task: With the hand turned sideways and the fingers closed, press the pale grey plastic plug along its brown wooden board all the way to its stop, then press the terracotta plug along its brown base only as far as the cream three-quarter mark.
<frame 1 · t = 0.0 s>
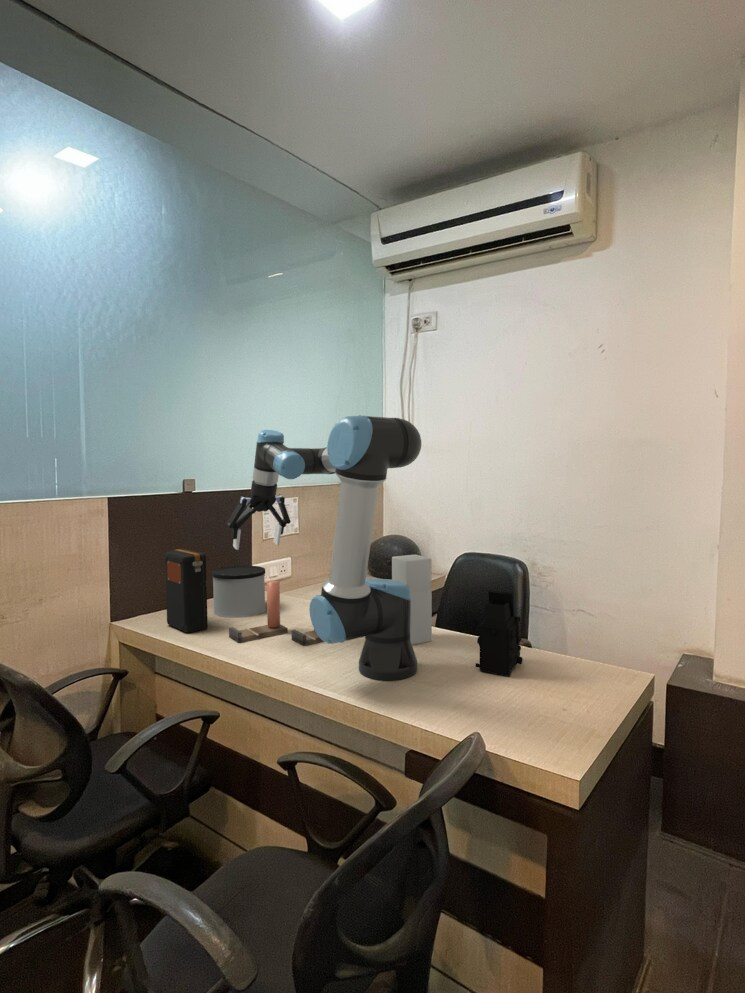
hand: (256, 545, 172), 28 cm above the table, tool tilted 20°, fingers open, 13 cm apart
camera: (501, 667, 144), on the table
brown wooden board: (335, 634, 172), on the table
container: (239, 611, 201), on the table
tall white carton: (411, 640, 166), on the table
voltmeter: (187, 627, 181), on the table
terracotta plug: (273, 603, 175), point 9 cm above the table, slide at 0.0 cm
brown base: (274, 631, 175), on the table
grey plug: (335, 605, 171), point 9 cm above the table, slide at 0.0 cm
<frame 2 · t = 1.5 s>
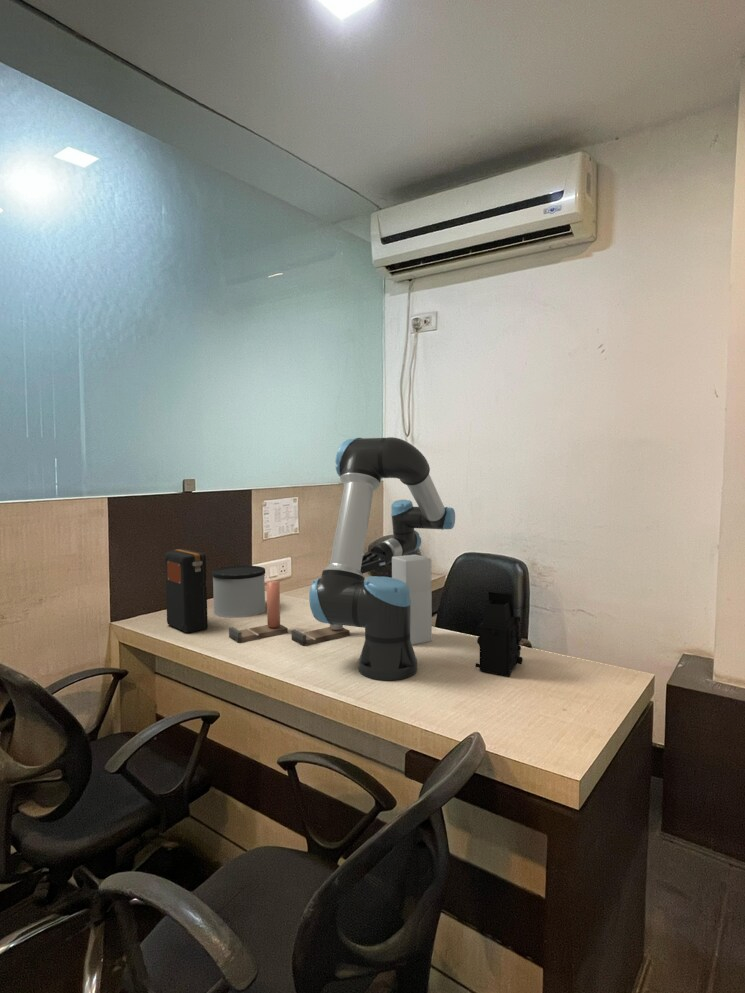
hand: (335, 576, 173), 18 cm above the table, tool horizontal, fingers closed
grey plug: (336, 605, 172), point 9 cm above the table, slide at -0.4 cm
everything else where it was.
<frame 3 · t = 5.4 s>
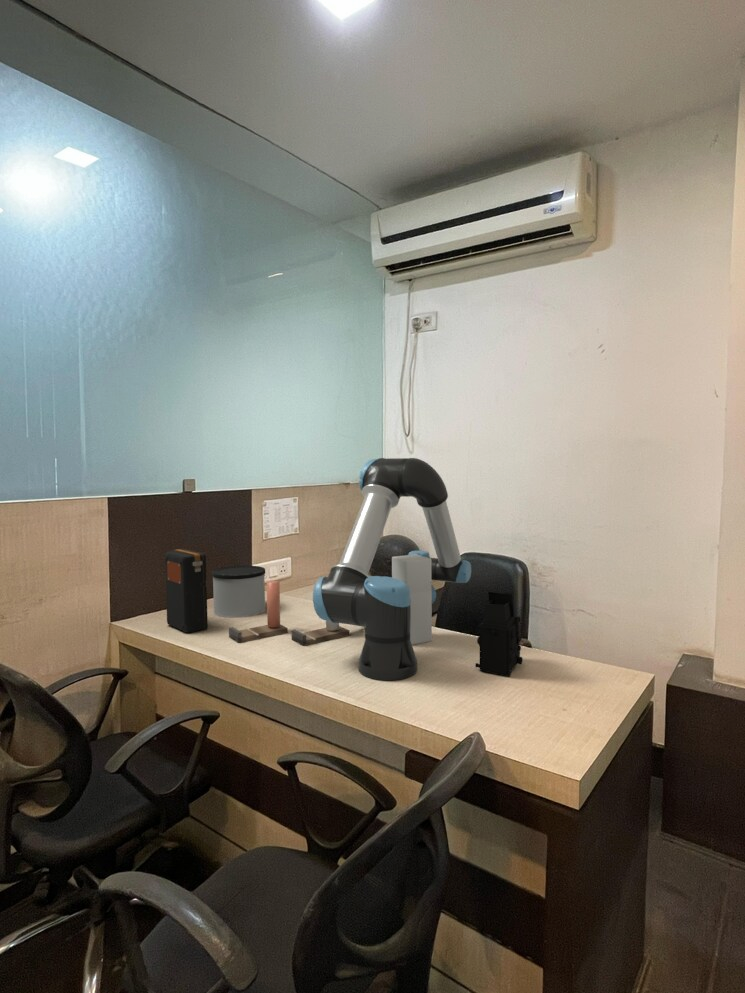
hand: (337, 611, 173), 7 cm above the table, tool horizontal, fingers closed
grey plug: (332, 606, 171), point 9 cm above the table, slide at 1.1 cm, touching gripper
everything else where it was.
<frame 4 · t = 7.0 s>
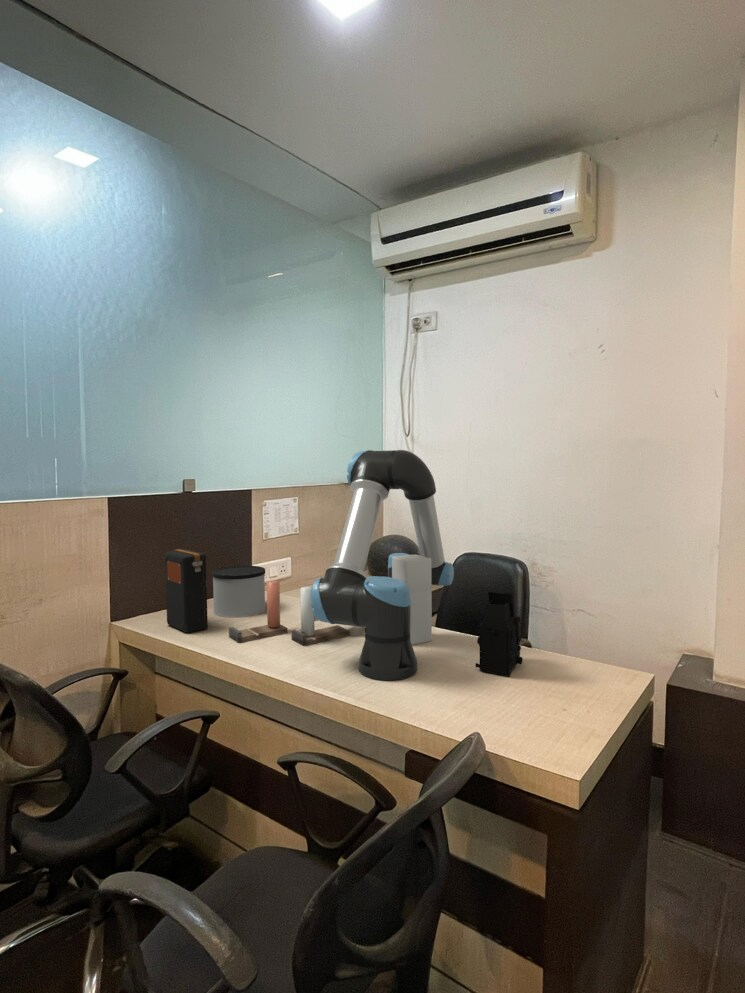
hand: (313, 616, 167), 7 cm above the table, tool horizontal, fingers closed
grey plug: (307, 611, 166), point 9 cm above the table, slide at 9.8 cm, touching gripper
everything else where it was.
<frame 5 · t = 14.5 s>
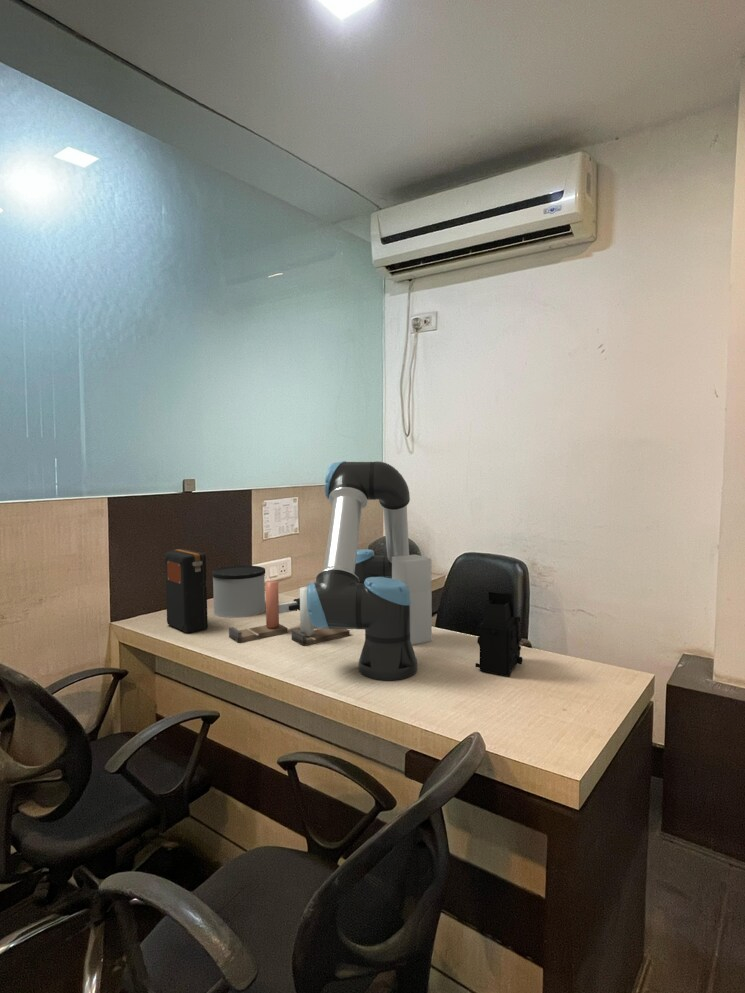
hand: (278, 609, 176), 7 cm above the table, tool horizontal, fingers closed
terracotta plug: (272, 604, 174), point 9 cm above the table, slide at 0.4 cm, touching gripper
grey plug: (306, 611, 166), point 9 cm above the table, slide at 10.1 cm
everything else where it was.
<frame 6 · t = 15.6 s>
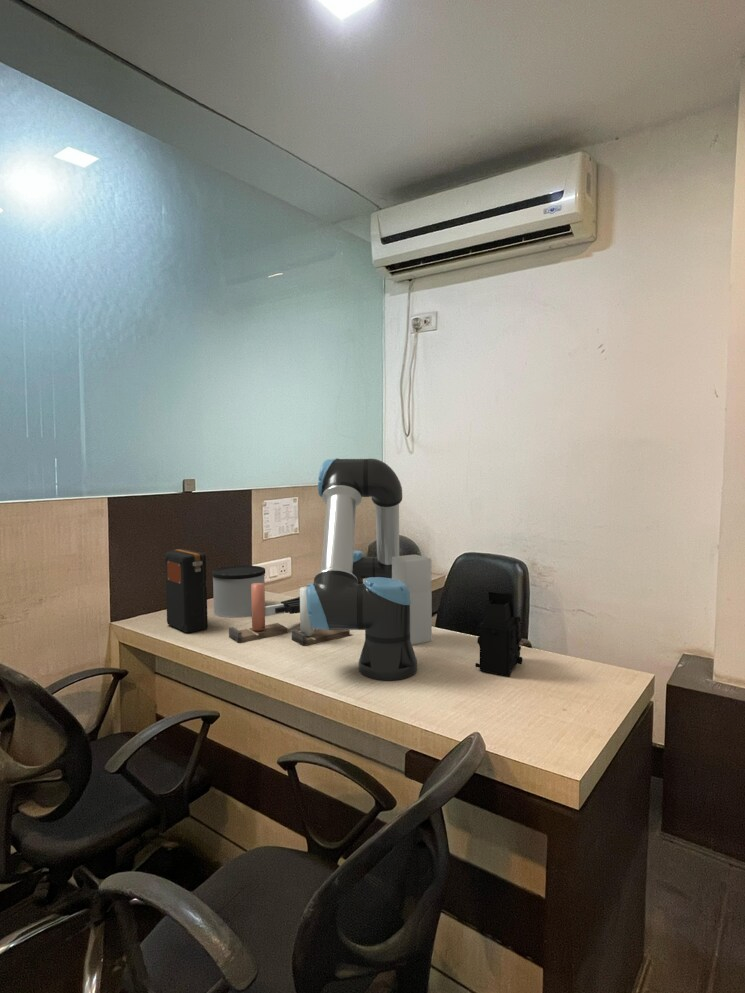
hand: (264, 611, 173), 7 cm above the table, tool horizontal, fingers closed
terracotta plug: (258, 606, 171), point 9 cm above the table, slide at 5.2 cm, touching gripper
everything else where it was.
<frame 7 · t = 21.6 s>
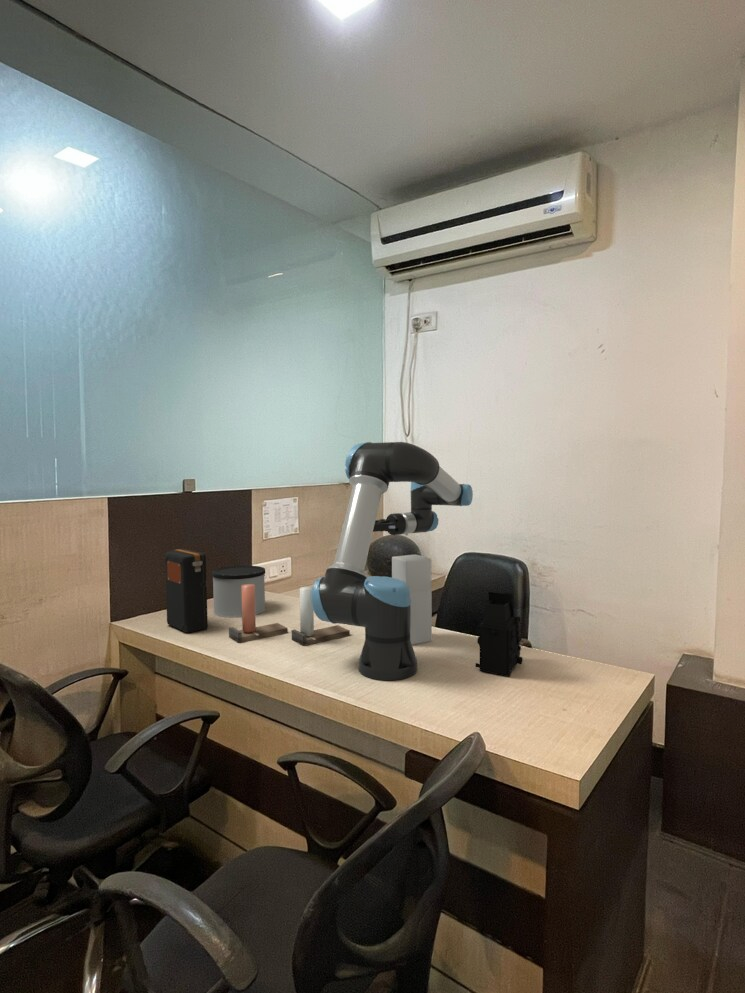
hand: (343, 528, 179), 32 cm above the table, tool horizontal, fingers closed
terracotta plug: (248, 608, 170), point 9 cm above the table, slide at 8.4 cm
everything else where it was.
at the end: grey plug slide at 10.1 cm; terracotta plug slide at 8.4 cm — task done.
